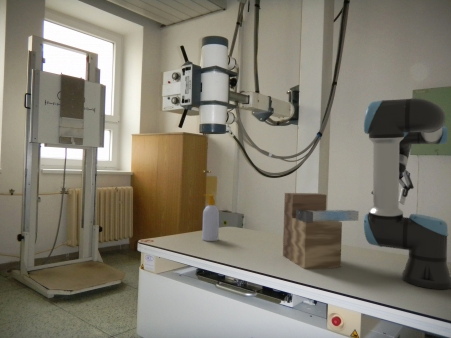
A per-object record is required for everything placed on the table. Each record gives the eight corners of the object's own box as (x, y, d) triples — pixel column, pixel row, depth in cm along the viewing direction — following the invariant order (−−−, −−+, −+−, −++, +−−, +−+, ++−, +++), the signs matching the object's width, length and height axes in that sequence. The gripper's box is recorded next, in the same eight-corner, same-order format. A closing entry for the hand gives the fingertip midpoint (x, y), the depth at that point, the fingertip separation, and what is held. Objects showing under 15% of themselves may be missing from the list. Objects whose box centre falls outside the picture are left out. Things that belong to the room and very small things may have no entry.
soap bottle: (205, 237, 189) (207, 193, 189) (221, 239, 185) (222, 194, 185) (197, 239, 181) (199, 194, 181) (213, 241, 177) (214, 195, 177)
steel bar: (361, 221, 142) (361, 211, 142) (306, 222, 134) (306, 212, 134) (349, 218, 149) (349, 209, 149) (295, 219, 141) (296, 209, 141)
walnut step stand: (340, 267, 138) (342, 197, 137) (304, 268, 133) (306, 197, 133) (315, 254, 157) (316, 193, 157) (282, 255, 153) (284, 192, 153)
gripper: (428, 163, 149) (419, 205, 140) (380, 176, 171) (370, 213, 162) (416, 154, 147) (407, 196, 138) (370, 168, 169) (359, 204, 160)
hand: (387, 205), depth 150 cm, fingers open, 13 cm apart
